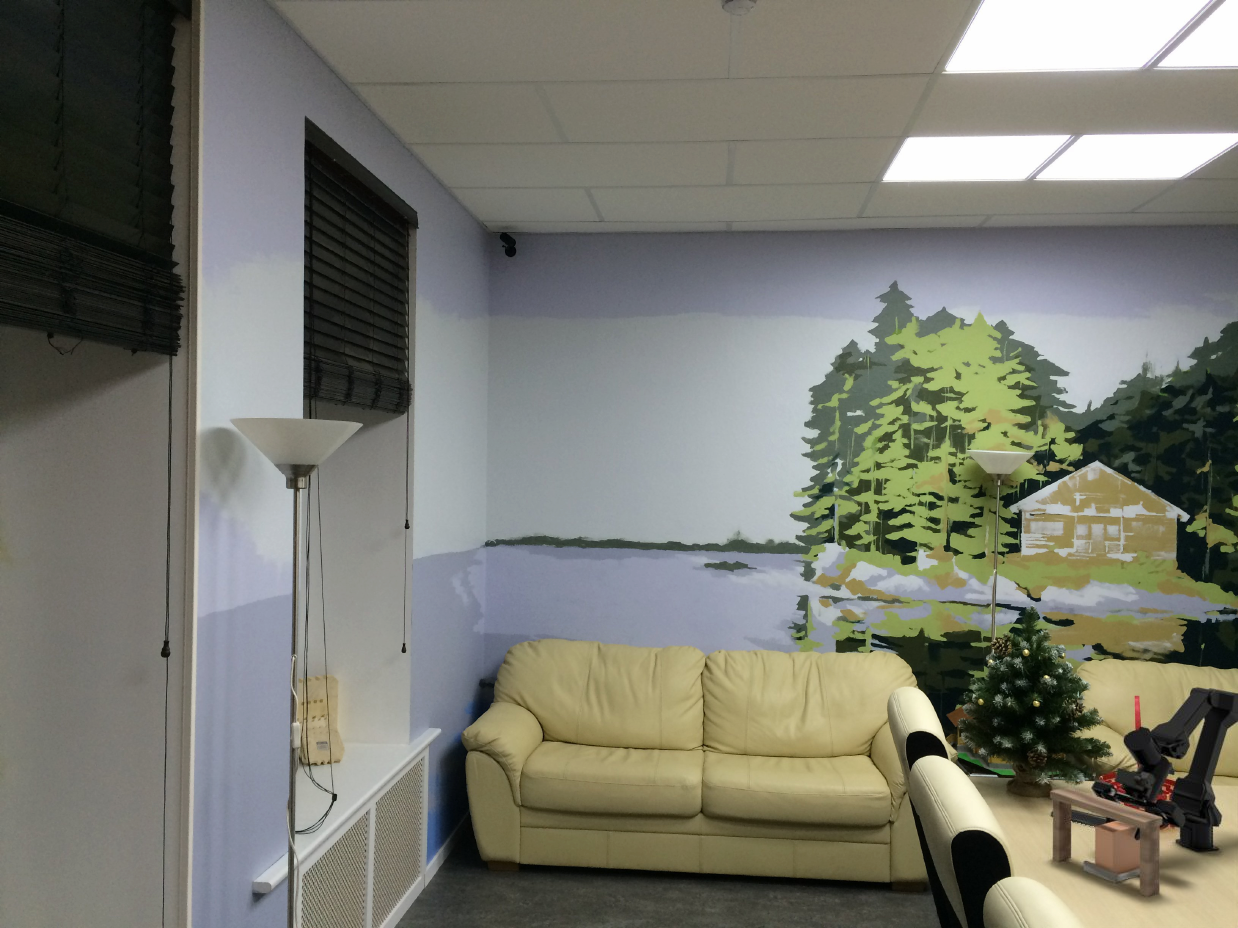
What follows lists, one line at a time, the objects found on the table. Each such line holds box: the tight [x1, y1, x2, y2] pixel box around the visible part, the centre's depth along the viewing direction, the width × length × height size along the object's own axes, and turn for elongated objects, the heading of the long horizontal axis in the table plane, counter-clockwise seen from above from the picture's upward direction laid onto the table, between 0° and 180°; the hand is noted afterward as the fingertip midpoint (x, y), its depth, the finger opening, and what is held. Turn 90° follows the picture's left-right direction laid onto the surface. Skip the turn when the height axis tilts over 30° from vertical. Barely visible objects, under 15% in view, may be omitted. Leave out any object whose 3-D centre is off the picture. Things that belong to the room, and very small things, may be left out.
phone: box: [1050, 808, 1106, 828], centre depth 229 cm, size 8×1×15 cm
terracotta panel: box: [1094, 821, 1140, 875], centre depth 198 cm, size 12×4×10 cm, turn 119°
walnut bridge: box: [1049, 786, 1162, 898], centre depth 197 cm, size 14×22×16 cm, turn 29°
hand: (1121, 833), depth 198 cm, fingers open, 6 cm apart
